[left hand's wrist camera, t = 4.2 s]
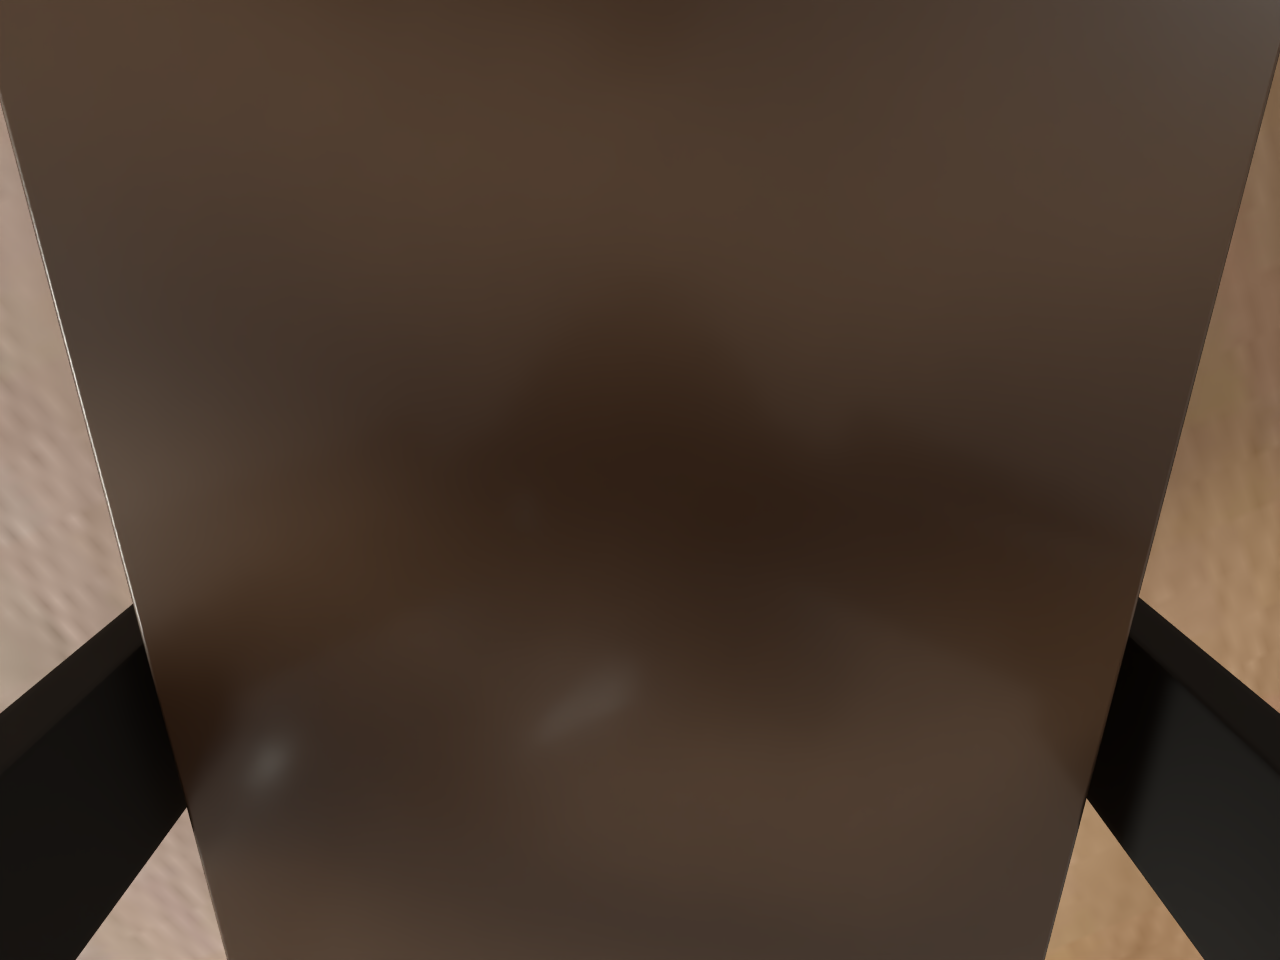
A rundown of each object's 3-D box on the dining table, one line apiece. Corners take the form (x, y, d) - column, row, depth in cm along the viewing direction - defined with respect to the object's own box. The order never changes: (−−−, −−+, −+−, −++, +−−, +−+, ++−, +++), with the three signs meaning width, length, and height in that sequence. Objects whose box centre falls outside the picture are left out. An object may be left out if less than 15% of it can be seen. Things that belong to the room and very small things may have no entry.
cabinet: (332, -150, 14) (-239, -784, 5) (939, -150, 14) (1500, -779, 5) (419, 608, 20) (229, 975, 10) (854, 607, 20) (1043, 973, 10)
